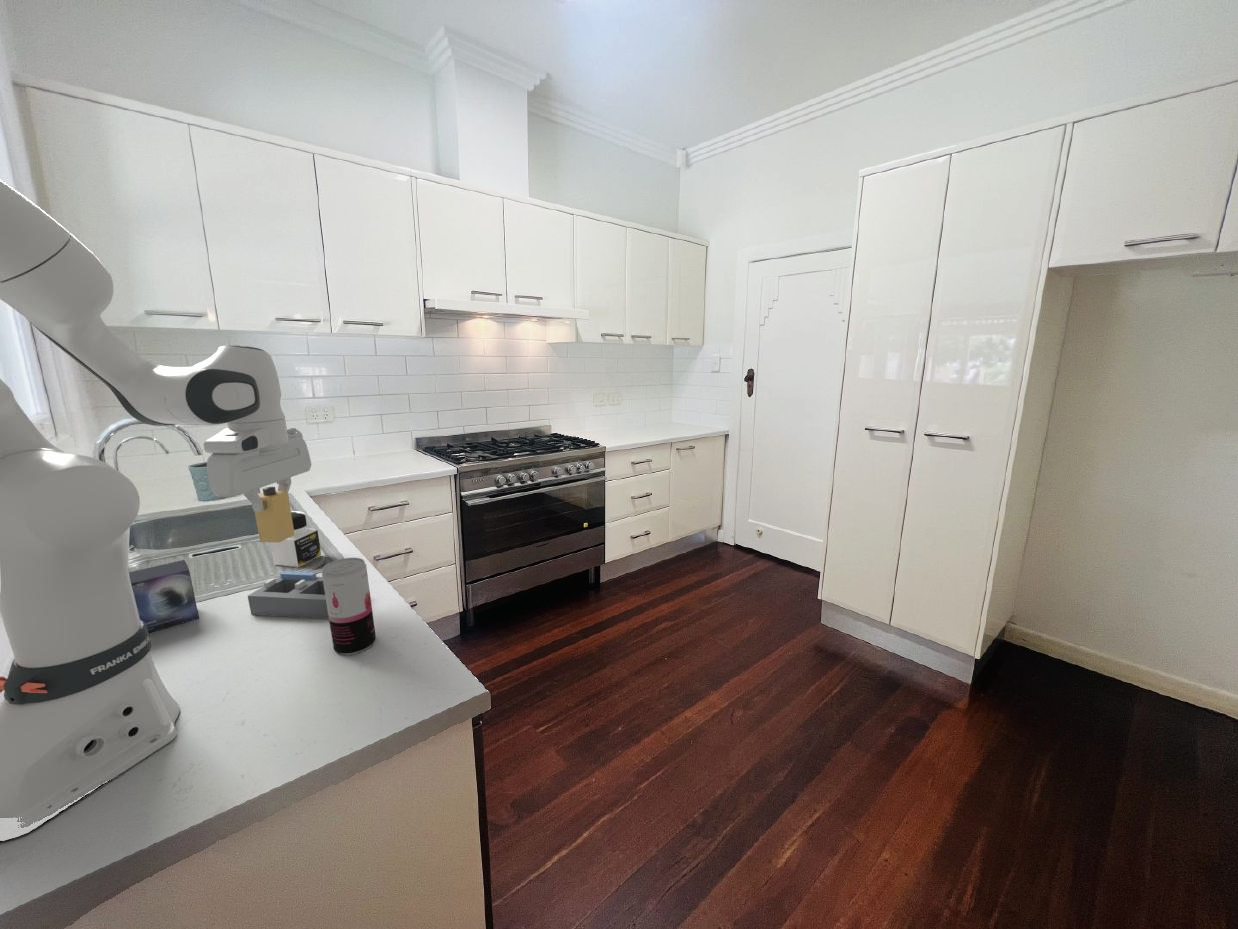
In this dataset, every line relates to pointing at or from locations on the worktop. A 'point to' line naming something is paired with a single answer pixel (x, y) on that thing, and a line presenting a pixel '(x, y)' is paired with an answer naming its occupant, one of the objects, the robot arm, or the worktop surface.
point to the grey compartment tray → (291, 596)
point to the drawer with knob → (274, 516)
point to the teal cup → (202, 482)
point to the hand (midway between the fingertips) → (271, 506)
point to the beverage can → (349, 605)
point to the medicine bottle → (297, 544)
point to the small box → (164, 595)
